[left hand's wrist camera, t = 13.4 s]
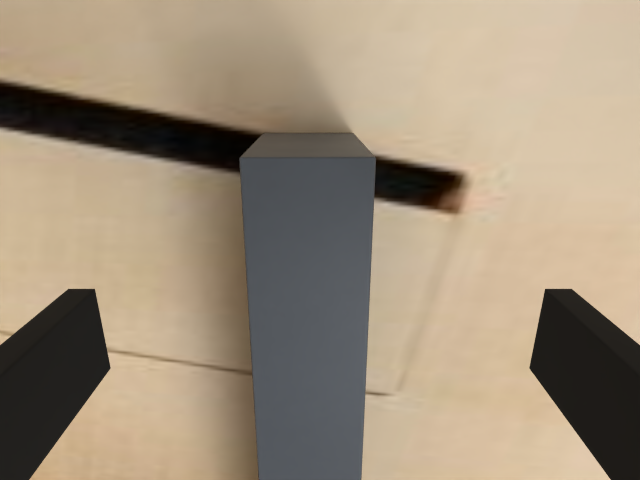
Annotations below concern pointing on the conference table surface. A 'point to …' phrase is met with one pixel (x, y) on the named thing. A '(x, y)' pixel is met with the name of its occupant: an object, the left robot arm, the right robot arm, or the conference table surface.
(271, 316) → the post
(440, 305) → the conference table surface
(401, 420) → the conference table surface
